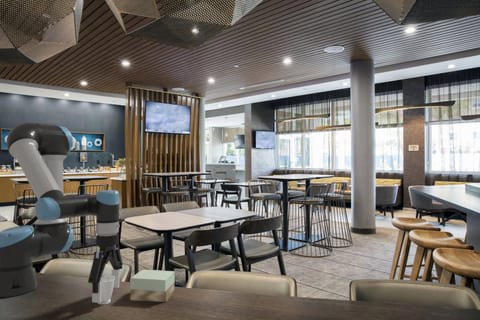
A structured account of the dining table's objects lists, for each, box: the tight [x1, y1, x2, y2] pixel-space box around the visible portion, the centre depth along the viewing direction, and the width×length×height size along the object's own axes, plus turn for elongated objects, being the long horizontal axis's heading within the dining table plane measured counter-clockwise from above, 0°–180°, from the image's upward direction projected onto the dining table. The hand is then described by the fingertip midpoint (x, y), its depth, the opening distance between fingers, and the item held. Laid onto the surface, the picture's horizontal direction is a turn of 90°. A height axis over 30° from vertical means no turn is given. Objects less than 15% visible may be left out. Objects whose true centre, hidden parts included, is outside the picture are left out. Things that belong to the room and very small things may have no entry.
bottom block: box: [130, 282, 175, 303], centre depth 120 cm, size 13×10×4 cm
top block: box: [130, 269, 176, 292], centre depth 121 cm, size 13×10×4 cm
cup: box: [97, 275, 115, 306], centre depth 116 cm, size 7×10×8 cm
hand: (106, 294), depth 115 cm, fingers open, 13 cm apart
